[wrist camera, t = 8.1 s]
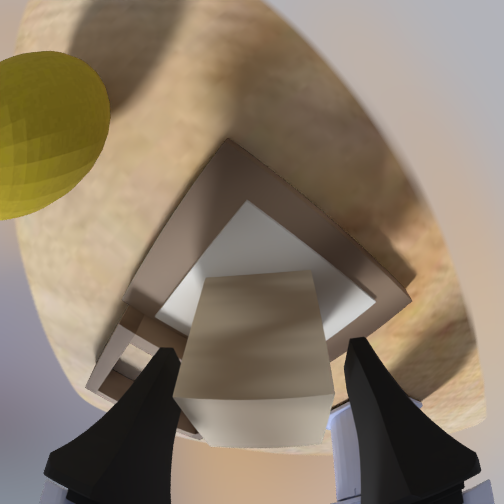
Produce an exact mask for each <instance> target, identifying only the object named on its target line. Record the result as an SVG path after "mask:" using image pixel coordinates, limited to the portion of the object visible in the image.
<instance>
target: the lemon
mask: <svg viewBox="0 0 504 504" xmlns="http://www.w3.org/2000/svg"><path fill="white" fill-rule="evenodd" d="M109 124H110V102H109V98H108V95H107V91H106V88H105V86H104V84H103V82H102V80H101V79H100V77H99V75H98V74H97V73H96V72H95V71H94V70H93V69H92V68H91V67H90V66H89V65H88V64H87V63H85V62H84V61H82V60H80V59H78V58H76V57H73V56H70V55H67V54H65V53H61V52H55V51H41V52H31V53H25V54H20V55H17V56H13V57H11V58H8V59H5V60H3V61H1V62H0V220H7V219H12V218H17V217H21V216H25V215H28V214H31V213H33V212H36V211H38V210H40V209H42V208H44V207H46V206H48V205H49V204H51V203H53V202H54V201H56V200H58V199H59V198H61V197H62V196H64V195H65V194H67V193H68V192H69V191H71V190H72V189H73V188H74V187H75V186H76V185H77V184H78V183H79V182H80V181H81V180H82V179H83V177H84V176H85V175H86V174H87V173H88V172H89V171H90V170H91V168H92V167H93V165H94V164H95V162H96V160H97V158H98V157H99V155H100V153H101V151H102V150H103V147H104V144H105V141H106V138H107V135H108V131H109Z"/></svg>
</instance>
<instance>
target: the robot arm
mask: <svg viewBox="0 0 504 504" xmlns="http://www.w3.org/2000/svg"><path fill="white" fill-rule="evenodd" d="M180 366H181V362H180V360H179V358H178V356H177V354H176V352H175V350H174V348H169V347H160V348H159V349H158V351H157V352H156V353H155V355H154V356H153V357H152V359H151V360H150V362H149V363H148V364H147V366H146V367H145V368H144V370H143V371H142V372H141V374H140V375H139V376H138V377H137V379H136V380H135V381H134V383H133V384H132V385H131V386H130V388H129V389H128V390H127V391H126V392H125V394H124V395H123V396H122V397H121V398H120V399H119V401H118V402H117V403H116V404H115V405H114V406H113V407H112V408H111V409H110V410H109V411H108V412H107V413H106V414H105V415H104V416H103V417H102V418H101V419H100V420H99V421H97V422H96V423H95V424H94V425H93V426H91V427H90V428H89V429H88V430H87V431H85V432H84V433H82V434H81V435H80V436H78V437H77V438H75V439H74V440H72V441H71V442H69V443H68V444H66V445H64V446H62V447H61V448H59V449H57V450H55V451H53V452H51V453H50V455H49V458H48V461H47V464H46V467H45V470H44V475H45V476H47V477H48V478H50V479H52V480H53V481H55V482H57V483H59V484H61V485H63V486H64V487H66V488H68V490H67V489H65V488H62V487H60V486H59V485H57V484H55V483H53V482H51V481H49V480H46V481H45V484H44V488H43V491H42V495H41V499H40V502H39V504H171V494H170V486H171V484H170V483H171V482H170V481H171V463H172V451H173V444H174V438H175V434H176V430H177V426H178V422H179V418H180V413H181V408H180V407H179V405H178V404H177V403H176V401H175V400H174V398H173V393H174V389H175V385H176V381H177V377H178V374H179V370H180ZM344 373H345V381H346V388H347V393H348V397H349V402H347V403H345V404H343V405H341V406H339V407H337V408H335V409H333V410H331V412H330V415H329V419H328V423H327V426H326V429H328V430H331V438H332V447H333V457H334V468H335V480H336V495H337V503H331V504H494V498H493V493H492V487H491V482H490V480H486V481H484V482H482V483H480V484H479V485H477V486H475V487H473V488H471V489H468V490H466V491H463V492H462V490H461V489H463V488H464V487H465V486H464V481H465V480H467V479H469V478H471V477H473V476H475V475H477V474H479V473H480V472H481V467H480V463H479V459H478V457H477V454H476V452H474V451H472V450H470V449H469V448H467V447H466V446H464V445H462V444H461V443H459V442H458V441H457V440H455V439H454V438H453V437H451V436H450V435H448V434H447V433H446V432H445V431H444V430H442V429H441V428H440V427H439V426H438V425H436V424H435V423H434V422H433V421H432V420H431V419H430V418H429V417H427V416H426V415H425V414H424V413H423V412H422V411H421V410H420V409H419V408H421V407H422V406H423V405H422V403H421V402H419V401H417V400H415V399H412V398H410V397H408V396H407V394H406V393H405V392H404V391H403V390H402V388H401V387H400V386H399V385H398V383H397V382H396V381H395V380H394V378H393V377H392V376H391V374H390V373H389V372H388V370H387V369H386V367H385V366H384V365H383V363H382V362H381V360H380V359H379V357H378V356H377V354H376V353H375V351H374V350H373V348H372V347H371V345H370V344H369V342H368V340H367V339H366V338H365V337H357V338H350V339H349V345H348V350H347V355H346V360H345V365H344Z"/></svg>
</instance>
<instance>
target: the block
mask: <svg viewBox="0 0 504 504" xmlns="http://www.w3.org/2000/svg"><path fill="white" fill-rule="evenodd" d="M334 395H335V391H334V385H333V379H332V373H331V367H330V361H329V355H328V350H327V345H326V339H325V334H324V329H323V324H322V319H321V314H320V309H319V304H318V299H317V294H316V290H315V285H314V281H313V276H312V272H311V270H302V271H290V272H277V273H264V274H251V275H237V276H222V277H207V278H205V281H204V285H203V288H202V291H201V295H200V298H199V302H198V305H197V308H196V312H195V315H194V319H193V322H192V326H191V329H190V333H189V337H188V340H187V344H186V347H185V351H184V355H183V358H182V362H181V366H180V370H179V374H178V377H177V381H176V385H175V389H174V393H173V398H174V400H175V401H176V403H177V404H178V405H179V407H180V408H181V410H182V411H183V412H184V414H185V415H186V416H187V418H188V419H189V420H190V422H191V423H192V424H193V426H194V427H195V428H196V430H197V431H198V432H199V433H200V435H201V436H202V437H203V438H204V440H205V441H206V442H207V443H208V444H209V446H212V447H229V448H280V447H297V446H309V445H319V444H322V440H323V437H324V434H325V430H326V426H327V423H328V419H329V415H330V412H331V408H332V404H333V400H334Z"/></svg>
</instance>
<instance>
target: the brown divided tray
mask: <svg viewBox="0 0 504 504" xmlns="http://www.w3.org/2000/svg"><path fill="white" fill-rule="evenodd" d="M302 270H311V272H312V276H313V281H314V285H315V290H316V294H317V299H318V304H319V309H320V314H321V319H322V324H323V329H324V334H325V339H326V345H327V350H328V355H329V361H330V362H331V361H333V360H334V359H336V358H337V357H339V356H340V355H342V354H343V353H345V352H346V351H347V350H348V345H349V339H350V338H357V337H365V338H366V337H368V336H369V335H370V334H372V333H373V332H374V331H376V330H377V329H378V328H380V327H381V326H382V325H383V324H385V323H386V322H387V321H389V320H390V319H391V318H392V317H394V316H395V315H396V314H397V313H399V312H400V311H401V310H402V309H403V308H405V307H406V306H407V305H408V304H409V303H411V302H412V300H411V298H410V296H409V294H408V293H407V291H406V289H405V288H404V287H403V286H402V285H401V284H400V283H399V282H398V281H397V280H396V279H395V278H394V277H393V276H392V275H391V274H390V273H389V272H388V271H387V270H386V269H385V268H384V267H383V266H382V265H381V264H379V263H378V262H377V261H376V260H375V259H374V258H373V257H372V256H371V255H370V254H369V253H368V252H367V251H366V250H365V249H364V248H363V247H362V246H360V245H359V244H358V243H357V242H356V241H355V240H354V239H353V238H352V237H351V236H349V235H348V234H347V233H346V232H345V231H344V230H343V229H342V228H341V227H339V226H338V225H337V224H336V223H335V222H334V221H333V220H331V219H330V218H329V217H328V216H327V215H326V214H325V213H323V212H322V211H321V210H320V209H319V208H318V207H316V206H315V205H314V204H313V203H312V202H310V201H309V200H308V199H307V198H306V197H304V196H303V195H302V194H301V193H300V192H298V191H297V190H296V189H295V188H293V187H292V186H291V185H290V184H289V183H287V182H286V181H285V180H284V179H282V178H281V177H280V176H278V175H277V174H276V173H275V172H273V171H272V170H271V169H270V168H268V167H267V166H266V165H264V164H263V163H262V162H260V161H259V160H258V159H256V158H255V157H254V156H252V155H251V154H250V153H248V152H247V151H246V150H244V149H243V148H242V147H240V146H239V145H238V144H236V143H235V142H233V141H232V140H231V139H229V138H227V139H226V140H225V141H224V143H223V144H222V145H221V147H220V148H219V149H218V151H217V152H216V153H215V155H214V156H213V157H212V159H211V160H210V161H209V163H208V164H207V166H206V167H205V168H204V170H203V171H202V172H201V174H200V175H199V177H198V178H197V179H196V181H195V182H194V184H193V185H192V187H191V188H190V189H189V191H188V192H187V194H186V195H185V197H184V198H183V200H182V201H181V203H180V204H179V206H178V207H177V209H176V210H175V212H174V213H173V215H172V216H171V218H170V219H169V221H168V222H167V224H166V225H165V227H164V228H163V230H162V232H161V233H160V235H159V236H158V238H157V240H156V241H155V243H154V244H153V246H152V248H151V249H150V251H149V253H148V254H147V256H146V258H145V259H144V261H143V263H142V264H141V266H140V268H139V269H138V271H137V273H136V275H135V276H134V278H133V280H132V282H131V283H130V285H129V287H128V289H127V291H126V292H125V294H124V296H123V298H122V301H124V302H126V303H127V304H129V305H128V307H127V308H126V310H125V312H124V314H123V315H122V317H121V319H120V321H119V322H118V324H117V326H116V328H115V330H114V331H113V333H112V335H111V337H110V339H109V340H108V342H107V344H106V346H105V348H104V350H103V352H102V354H101V355H100V357H99V359H98V361H97V363H96V365H95V367H94V369H93V371H92V374H91V376H90V378H89V380H88V382H87V385H86V387H85V388H87V389H88V390H90V391H92V392H93V393H95V394H97V395H99V396H101V397H102V398H104V399H106V400H108V401H110V402H112V403H113V404H116V403H117V402H118V401H119V399H120V398H121V397H122V396H123V395H124V394H125V392H126V391H127V390H128V389H129V388H130V386H131V385H132V384H133V383H134V381H132V380H130V379H128V378H127V377H125V376H123V375H121V374H119V373H118V372H116V371H114V370H112V368H113V367H114V365H115V364H116V362H117V361H118V359H119V358H120V356H121V355H122V353H123V352H124V350H125V349H126V347H127V346H128V344H129V343H131V344H132V345H134V346H136V347H138V348H139V349H141V350H143V351H145V352H146V353H148V354H150V355H152V356H154V355H155V353H156V352H157V351H158V349H159V348H160V347H169V348H174V350H175V352H176V354H177V356H178V358H179V360H180V362H182V358H183V355H184V351H185V347H186V344H187V340H188V337H189V333H190V329H191V326H192V322H193V319H194V315H195V312H196V308H197V305H198V302H199V298H200V295H201V291H202V288H203V285H204V281H205V278H207V277H222V276H237V275H251V274H264V273H277V272H290V271H302ZM176 432H178V433H181V434H184V435H187V436H189V437H192V438H195V439H198V440H201V439H203V437H202V436H201V435H200V433H199V432H198V431H197V430H196V428H195V427H194V426H193V424H192V423H191V422H190V420H189V419H188V418H187V416H186V415H185V414H184V412H183V411H182V410H181V413H180V418H179V422H178V426H177V430H176Z"/></svg>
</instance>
